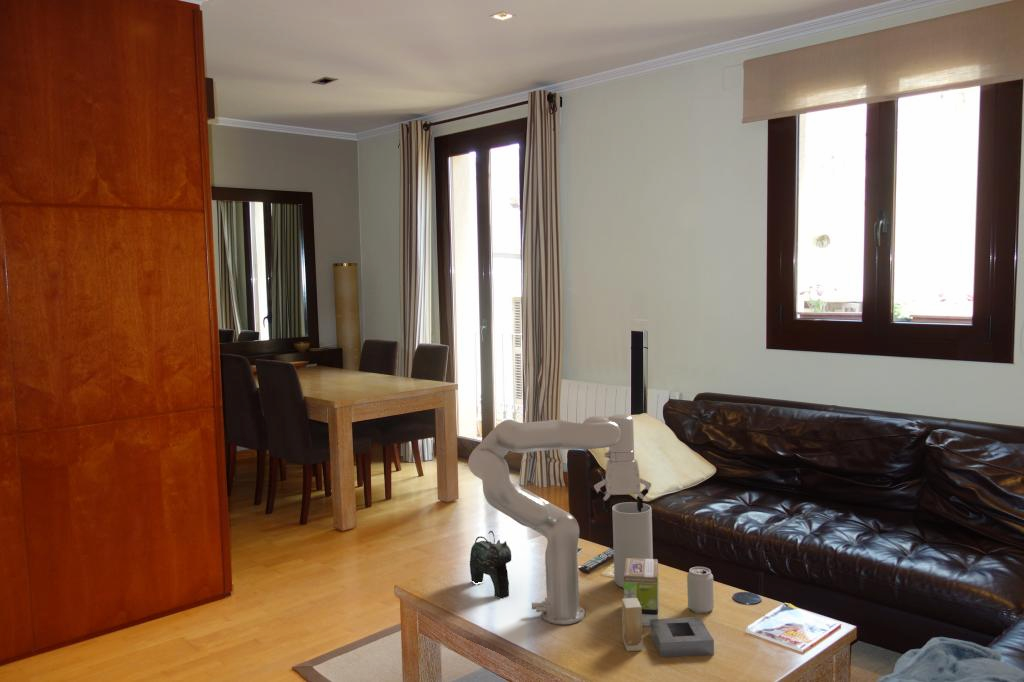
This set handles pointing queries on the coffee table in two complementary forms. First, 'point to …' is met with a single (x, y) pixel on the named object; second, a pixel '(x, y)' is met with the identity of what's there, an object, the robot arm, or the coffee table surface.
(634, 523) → the cylinder vase
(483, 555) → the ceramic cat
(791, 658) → the coffee table surface
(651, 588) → the tea box
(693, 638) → the holder
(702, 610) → the can
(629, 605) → the skincare box
